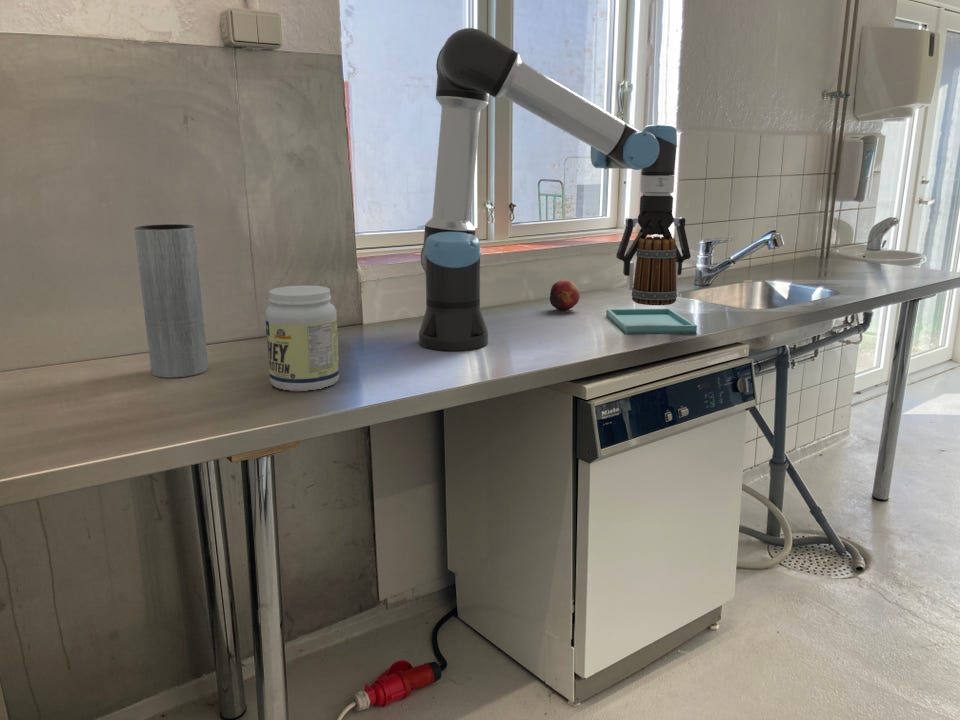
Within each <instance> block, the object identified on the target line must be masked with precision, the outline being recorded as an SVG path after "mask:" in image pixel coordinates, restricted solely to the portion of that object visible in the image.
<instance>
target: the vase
mask: <svg viewBox="0 0 960 720" xmlns="http://www.w3.org/2000/svg"><path fill="white" fill-rule="evenodd" d="M195 229H196V228H195V226H194V225H192V224H173V223H171V224H170V223H169V224H168V223H167V224H149V225H147V224H146V225H140V226H135V228H134V229H133V230H134V238H135V247H136V252H137V254H136V255H137V262H138V272H139V278H140V281H139V282H140V287H141V295H142V304H143V311H144V312H143V314H144V321H145V329H146V338H147V339H146V340H147V345H148V346H147V347H148V354H149V362H150V369H151V370H150V371H151V374H152V375H153V376H155V377H158V378H162V379H176V378H177V379H179V378H186V377H187V378H188V377H192V376H196V375H201V374H202V373H204V372H206V371H207V370H208V369H209V359H208V352H207V351H208V350H207V340H206V330H205V319H204V318H205V317H204V311H203V310H204V307H203V300H202V290H201V288H202V287H201V279H200V277H201V276H200V271H199V269H200V268H199V258H198V250H197V240H196V239H197V238H196V237H197V236H196V230H195Z"/></svg>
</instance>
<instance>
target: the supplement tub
mask: <svg viewBox="0 0 960 720" xmlns="http://www.w3.org/2000/svg"><path fill="white" fill-rule="evenodd" d="M268 297H269V298H268V302H270V305H268V306H267V308H266V310H265V312H264V314H265V315H264V318H265V319H264V320H265V321H264V322H265V332H266V344H267V346H266V347H267V360H268V371H269V373H268V374H269V376H268V377H269V381H270V383H271V385H272V386H273V387H275V388H276V389H278V388H279V389H278V390H281V389H283V390H282V391H285V390H290V391H289V392H307V391H306V390H314V389H320V388H324V387H327V388H329V387H328V386H330V387H332V386H333V385H335V384H336V383H337V382H338V381H339V379H340V359H339V336H338V316H337V315H338V312H337V308H336V307H335V305H334V304H332V302H331V301H330V300H331V299H332V296H331V288H329V287H326V286H321V285H305V284H303V285H287V286H281V287H275V288H272V289H270V290H269V291H268ZM331 385H332V386H331ZM324 389H325V388H324ZM320 390H321V389H320ZM314 391H315V390H314Z"/></svg>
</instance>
